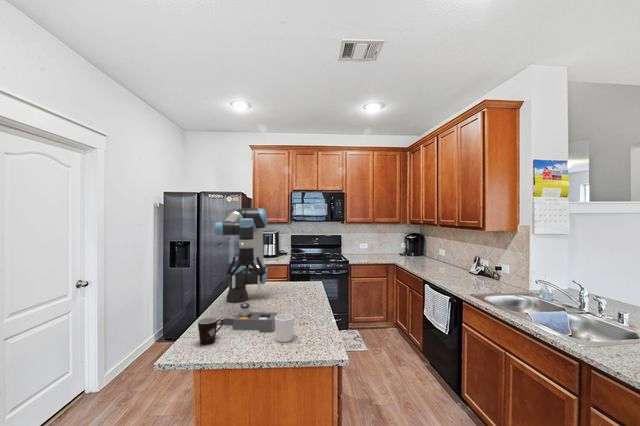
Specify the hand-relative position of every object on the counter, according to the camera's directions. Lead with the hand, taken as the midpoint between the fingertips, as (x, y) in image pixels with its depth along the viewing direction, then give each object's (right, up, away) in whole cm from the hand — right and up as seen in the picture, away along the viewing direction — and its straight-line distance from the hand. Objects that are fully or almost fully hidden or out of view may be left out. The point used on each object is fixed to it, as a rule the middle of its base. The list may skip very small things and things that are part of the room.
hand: (246, 287), depth 152 cm
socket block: (+5, -21, -1) cm, 21 cm away
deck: (-11, -21, +5) cm, 24 cm away
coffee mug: (-12, -20, -18) cm, 30 cm away
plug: (-1, -19, -1) cm, 19 cm away
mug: (+22, -20, -15) cm, 34 cm away
